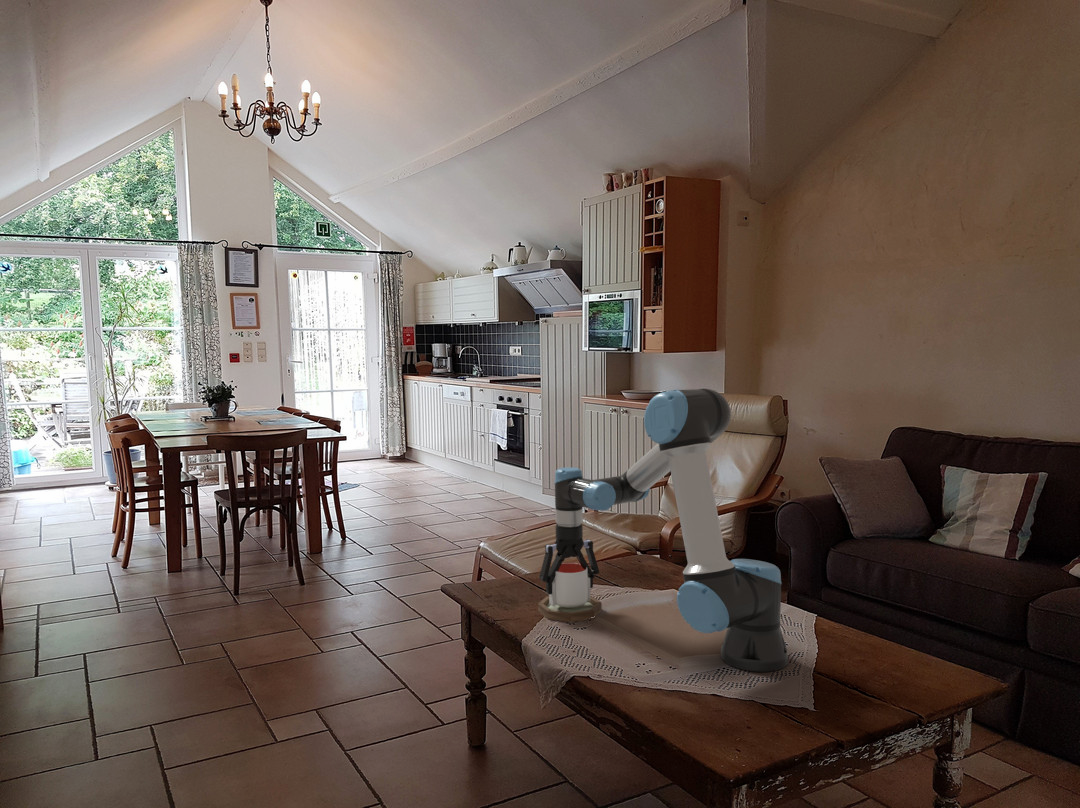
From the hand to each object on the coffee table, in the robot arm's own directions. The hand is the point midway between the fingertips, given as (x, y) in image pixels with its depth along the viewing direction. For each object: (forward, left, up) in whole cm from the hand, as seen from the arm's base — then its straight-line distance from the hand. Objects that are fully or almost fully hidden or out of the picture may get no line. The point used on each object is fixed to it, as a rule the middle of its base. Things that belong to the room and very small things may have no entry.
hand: (569, 602), depth 213 cm
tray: (0, 0, -2) cm, 2 cm away
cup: (0, 0, 0) cm, 0 cm away
